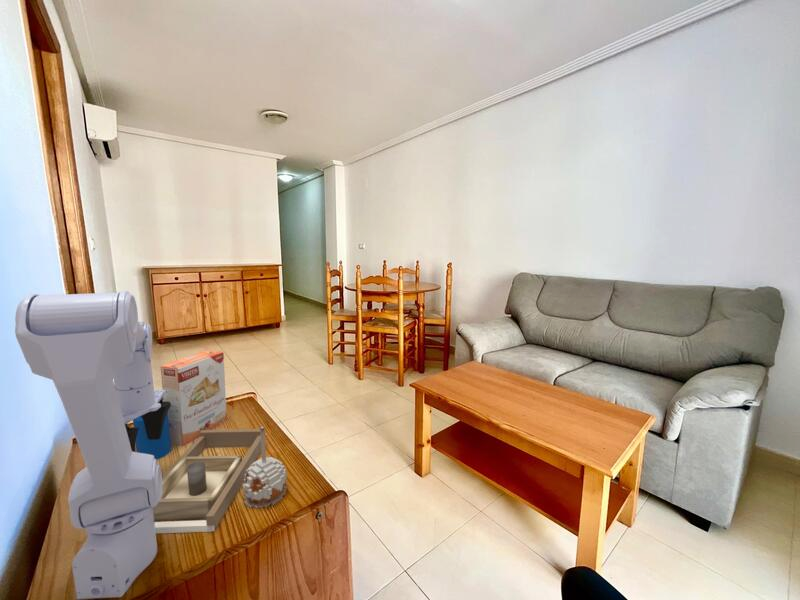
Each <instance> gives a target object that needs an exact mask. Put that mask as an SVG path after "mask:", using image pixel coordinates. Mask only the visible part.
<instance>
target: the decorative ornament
mask: <svg viewBox="0 0 800 600" xmlns="http://www.w3.org/2000/svg"><path fill="white" fill-rule="evenodd" d="M259 429H260V434H261V452H260V453H261V458H259V459H256V461H255V462H253V464H251V466H250V467H249V468H248V469H247V470H246V474H245V479H244V481H243V483H242V491H243V492H244V496H243V499H244V500H245V501H243V503H244V505H246V506H247V507H249V508H250V509H251V508H252V507H253V508H255V509H259V508H260V509H263V508H267V507H268V506H270V505H271V506H274V505H276V504H277V503H278V502H280V501H281V500H283V496H285V495H286V494H287V493H286V492H287V489H288V488H287V486H286V485H287V480H288V479H287V469H286V466H285V465H283V462H282V461H280V460H279V459H277V458H274V457H272V456H269V457H267V452H266V448H267V447H266V428H265V426H261V427H260V428H259Z"/></svg>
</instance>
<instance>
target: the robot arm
mask: <svg viewBox="0 0 800 600" xmlns="http://www.w3.org/2000/svg"><path fill="white" fill-rule="evenodd" d="M138 315H139V314H138V306H137V300H136V298H135V295H134V294H131V292H129V291H128V290H121V291H120V292H119V291H118V292H99V293H98V292H95V293H73V294H71V293H70V294H66V293H65V294H45V295H41V294H32V293H31V294H28V295H25V297H24V298H23V299H22V300H21V301H20V302H19V303H18V305H17V307H16V311H15V318H14V319H15V325H14V326H15V329H14V333H15V337H16V340H17V342H18V346H19V348H20V349H21V352H22V355H23V356H24V359H25V362H26V364H28V366H29V368H30V371H31V373H32V374H34V375H37V376H40V377H43V378H46V379H49V380H52V382H53V384H54V387H55V388H56V391H57V393H58V396H59V398H60V399H61V400H60V401H61V403H62V405H63V407H64V408H63V409H64V411H65V413H66V415H67V418H68V421H69V424H70V426H71V429H72V432H73V435H74V437H75V439H76V442H77V445H78V447H79V450H80V453H81V455H82V458H83V460H84V463H85V467H84V468H82V469H81V470H80V471H78V472H77V473H76V475H75V477H74V479H73V481H72V482H71V485H70V488H69V492H68V498H67V503H68V506H69V519H70V522H71V523H70V524H71V525H72V526H73V527H74V528H75V529H77V530H82V529H84V531H85V536H87V538H86V541H85V542H84V544H83V545H82V547H81V548H80V549H79V551H78V552H77V553H76V554H75V556H74V558H73V559H72V563H71V570H72V575H73V583H74V589H75V595H76V600H86V599H87V600H88V599H107V598H112V599H113V598H121V597H122V598H123V596H124V595H125V593H126V592H127V591H128V589H129V588H130V586H131V585H132V584H133V582H134V581H135V580H136V579H137V577H138V576H139V575H140V574H141V573H143V571H144V570H146V568H147V567H149V566H150V565H151V564H152V562H153V561H154V559H155V558H156V555H157V553H158V543H157V534H156V532H155V523H154V522H155V520H154V514H153V507H155V506H157V504H158V503H159V502H160V500H161V496H162V474H163V473H162V467H161V465H160V464H159V463H158V459H157V460H156V459H155V458H154V455H150V454H144V453H137V452H136V443H135V441H136V436H137V433H138V430H139V428H134V427H130V425H128V424H129V423H130V422H133V419H135V418H137V417H139V416H141V417H142V419H143V422H144V425H145V429H146V434H147V437H148V439H149V440H158V439H160V438H161V434H162V429H163V424H164V420H165V417H166V414H167V412H168V410H169V408H170V406H171V404H170V402H163V400H165V399H166V398H167V397H166V390H162V389H156V390H155V388H154V387H155V386H154V378H153V369H152V360H151V359H152V357H153V349H152V347H153V331H152V327H151V325H150V323H148V324H146V323H145V322H144V321H139V316H138Z"/></svg>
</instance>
